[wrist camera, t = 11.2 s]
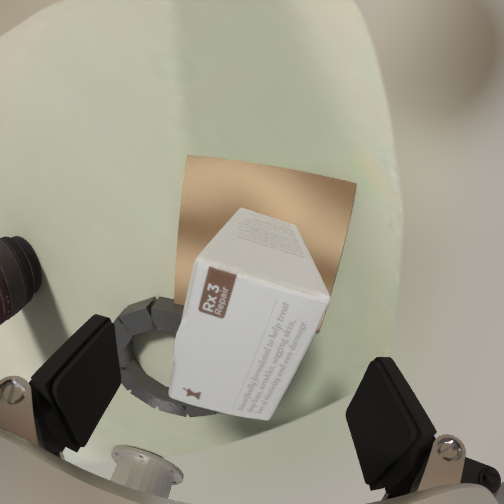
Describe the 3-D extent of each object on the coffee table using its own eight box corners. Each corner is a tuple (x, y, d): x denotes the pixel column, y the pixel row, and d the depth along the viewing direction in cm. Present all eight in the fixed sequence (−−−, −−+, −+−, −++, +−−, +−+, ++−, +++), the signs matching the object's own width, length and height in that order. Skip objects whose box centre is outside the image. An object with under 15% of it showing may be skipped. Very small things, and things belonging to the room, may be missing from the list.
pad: (318, 327, 22) (319, 331, 22) (176, 305, 22) (174, 308, 21) (354, 183, 18) (356, 183, 18) (189, 155, 18) (186, 155, 18)
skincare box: (271, 296, 21) (275, 429, 9) (214, 280, 21) (164, 403, 9) (298, 220, 19) (347, 302, 7) (236, 201, 19) (189, 258, 7)
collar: (235, 411, 26) (233, 425, 24) (123, 385, 26) (116, 397, 24) (254, 313, 22) (253, 327, 20) (109, 284, 22) (98, 294, 20)
